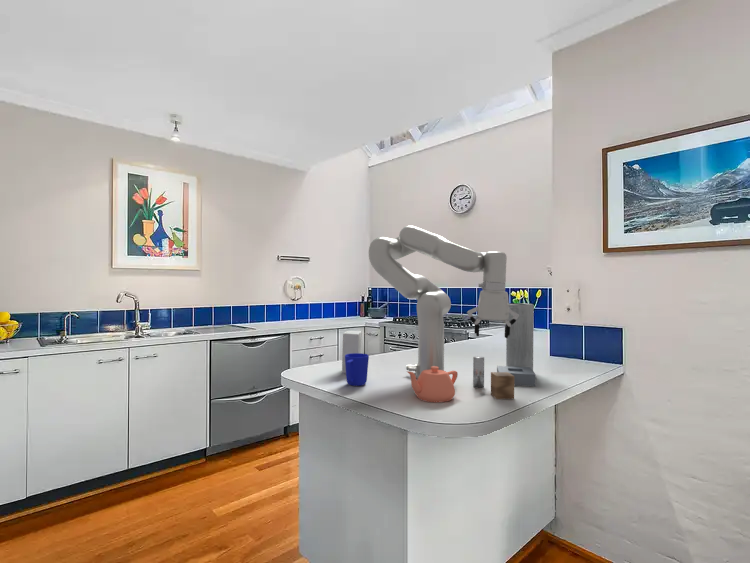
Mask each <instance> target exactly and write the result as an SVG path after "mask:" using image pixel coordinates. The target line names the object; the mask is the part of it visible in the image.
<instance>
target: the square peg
mask: <svg viewBox="0 0 750 563" xmlns="http://www.w3.org/2000/svg"><path fill="white" fill-rule="evenodd" d="M490 395H491V396H492V397H493V398H495V399H496V400H515V385H514V376H513V375H512V374H510V373H509V372H497V371H491V372H490Z"/></svg>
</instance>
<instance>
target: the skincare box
mask: <svg viewBox="0 0 750 563" xmlns="http://www.w3.org/2000/svg"><path fill="white" fill-rule="evenodd" d="M362 334H363V333H362V330H345V331H344V332H343V333H342V351H341V352H342V360H341V361H342V362H341V364H342V365H341V373H342V374H346V365H345V355H346V354H352V353H362V338H363V337H362Z"/></svg>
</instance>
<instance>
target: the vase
mask: <svg viewBox="0 0 750 563" xmlns="http://www.w3.org/2000/svg"><path fill="white" fill-rule="evenodd" d="M534 307H535V306H534V304H533V303H523V302H522V303H521V302H520V303H519V302H518V303H517V302H516V303H514V302H513V303H512V302H511V303H510V302H509V309H510V310H512V311H514V312H516V313H517V314H519V317H518V318H517V320H516V322H515V323H514V324H512V325H511V326H510V336H508V338H506V340H505V341H506V342H505V345H506V350H505V352H506V354H505V355H506V358H505V362H506V364H505V366H511V367H530V368H532V370H533V371H534V323H535V322H534V320H535V318H534V315H535V314H534V309H535V308H534ZM513 317H514V316H513V315H512V314H510V313H509V318H508V321H510V320H511V319H513Z"/></svg>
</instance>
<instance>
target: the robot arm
mask: <svg viewBox="0 0 750 563" xmlns="http://www.w3.org/2000/svg"><path fill="white" fill-rule="evenodd" d="M398 235H399V236H397V237H395V238H390V237H385V236H381V237H380V236H379V237H377V238H375V239H373V240H372V241H371V242H370V244H369V246H368V247H369V248H368V260H369V262H370V264H371V266H372V268H373V269H374V271H375V272H376V273H377V274H378V275H379V276H381V277H382V278H383V279H384V280H385V281H386V282H387V283H388V284H389V285H390V286H391V287H393V288H394V289H395V290H396V291H397V292H398V293H399V294H400V295H402V296H403V297H404V298H405V299H409V300H412V299H413V300H416V301H417V303H416V314H417V316H416V317H417V323H418V324H417V330H418V331H417V334H418V338H417V340H418V343H417V346H418V347H417V348H418V351H417V353H418V354H417V357H418V359H417V363H416V364H415V365H413V364H407V365H406V368H405V369H406V370H407V371H408V372H413V373H414V374H415V376H416V380H417V379H418V377H419V375H420V374H421V372H422V371H423V370H429V369H431V367H432V366H437V367H439V369H438V370H443V371H445V324H444V323H445V322H444V315H446V314H447V313H449V311H450V309H451V307H452V302H451V298H450V297H449V295H448V294H447V293H446V292H445V291H443V290H442V289H441V288H440V287H438V285H436V284H435V283H434V282H433V281H431V280H430V279H429V278H427V277H426V276H424V275H422V274H416V273H415V274H414V273H412V272H411V271H409V270H408V269H407V268H405V267H404V266H403V264H401V263H400V262H398V261H397V260H399V259H401V258H404V257H407V256H408V255H412V254H413V253H415V252H418V253H420V254H422V255H425V256H427V257H429V258H432V259H434V260H436V261H439V262H443V263H444V264H446V265H449V266H451V267H454V268H456V269H459V270H461V271H463V272H467V273H480V272H481V273H483V276H482V282H481V283H478V288H481V289H482V290H480V292H479V298H478V304H477V305H478V306H476V307H474V308H472V309H469V310H468V311H467V312H466V314H467V315H468V317H469V319H470V321H471V322H472V323H473V324H474V332H473V333H474V334H476V337H479V336H480V324H479V323H480V322H481V321H482V320H483V321H494V322H504V323H505V326H504V338H508V336H510V326H511V325H512V324H514V323H515V322H516V320H517V318H518V317H519V314H517V313H516V312H514V311H512V310H510V309H509V303H510V302H509V294H508V292H507V291H506V281H507V280H506V279H507V278H506V277H507V276H506V275H507V257H508V256H507V253H505V252H503V251H486V252H481V251H477V250H476V251H475V250H473V249H470V248H467V247H465V246H462V245H459V244H456V243H454V242H452V241H449V240H448V239H446V238H445V237H443V236H441V235H439V234H436V233H433V232H430V231H428V230H426V229H423V228H420V227H418V226H415V225H407V226H403V228H402V229H401V230H400V232H399V234H398ZM476 312H477V317H476V319H475V317H474V316H473V314H475V313H476ZM509 313H510V314H512V315H513V316H514V317H513V319H511V320H510V321H508V318H509Z"/></svg>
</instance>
